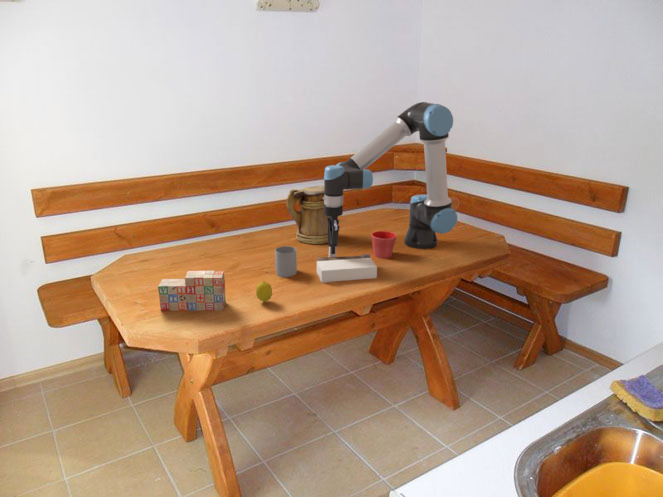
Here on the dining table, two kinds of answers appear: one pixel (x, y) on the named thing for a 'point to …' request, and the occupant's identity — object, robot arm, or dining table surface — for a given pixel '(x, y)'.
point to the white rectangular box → (346, 269)
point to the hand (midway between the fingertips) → (332, 260)
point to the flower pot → (383, 243)
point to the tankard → (309, 214)
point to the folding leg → (342, 257)
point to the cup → (286, 261)
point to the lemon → (264, 291)
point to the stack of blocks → (193, 292)
